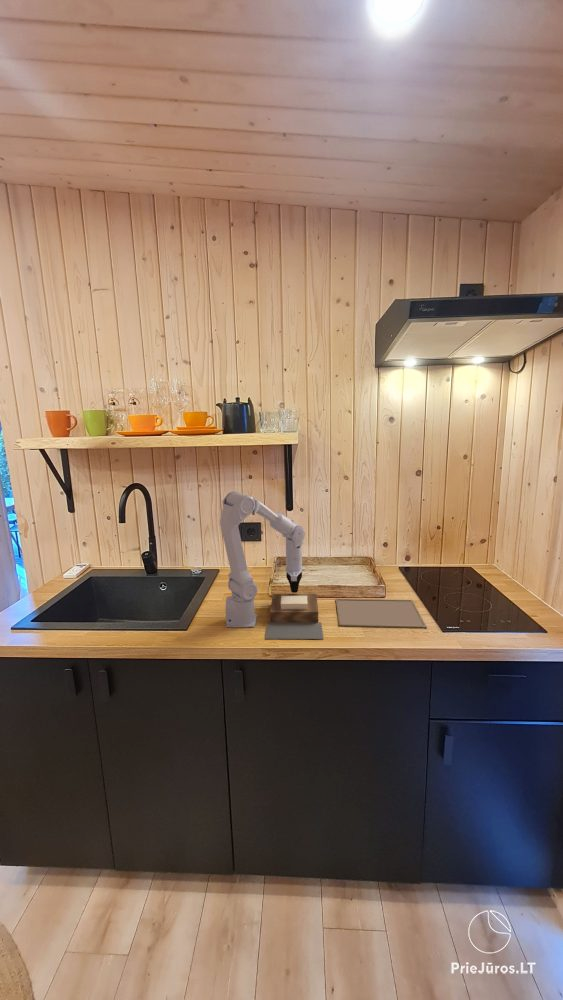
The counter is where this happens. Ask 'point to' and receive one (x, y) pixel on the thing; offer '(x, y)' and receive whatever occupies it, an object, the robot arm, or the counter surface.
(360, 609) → the taupe placemat
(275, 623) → the mat
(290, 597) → the beige rectangular block
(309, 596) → the brown wooden flat block
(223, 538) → the robot arm
